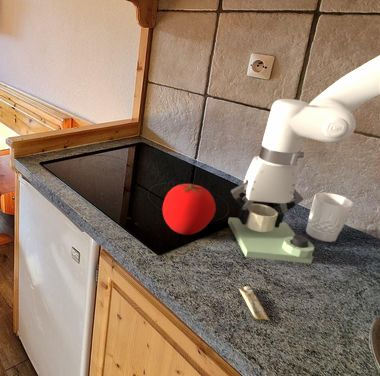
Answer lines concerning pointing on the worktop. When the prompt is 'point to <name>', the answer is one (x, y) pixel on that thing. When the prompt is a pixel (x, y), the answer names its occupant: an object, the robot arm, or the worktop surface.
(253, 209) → the bowl
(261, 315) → the snack bar
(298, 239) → the tare button
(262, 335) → the worktop surface
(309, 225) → the white cup
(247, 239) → the scale
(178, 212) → the tomato
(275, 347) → the worktop surface
